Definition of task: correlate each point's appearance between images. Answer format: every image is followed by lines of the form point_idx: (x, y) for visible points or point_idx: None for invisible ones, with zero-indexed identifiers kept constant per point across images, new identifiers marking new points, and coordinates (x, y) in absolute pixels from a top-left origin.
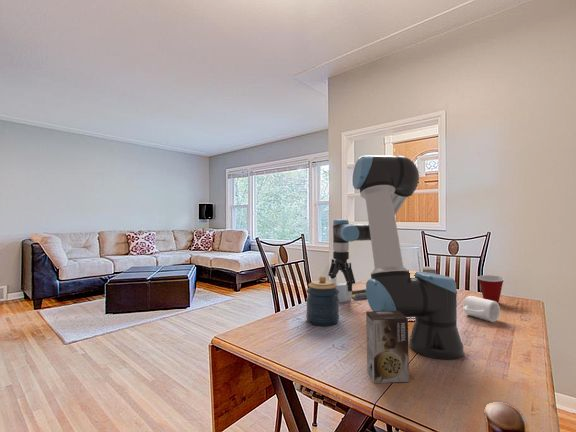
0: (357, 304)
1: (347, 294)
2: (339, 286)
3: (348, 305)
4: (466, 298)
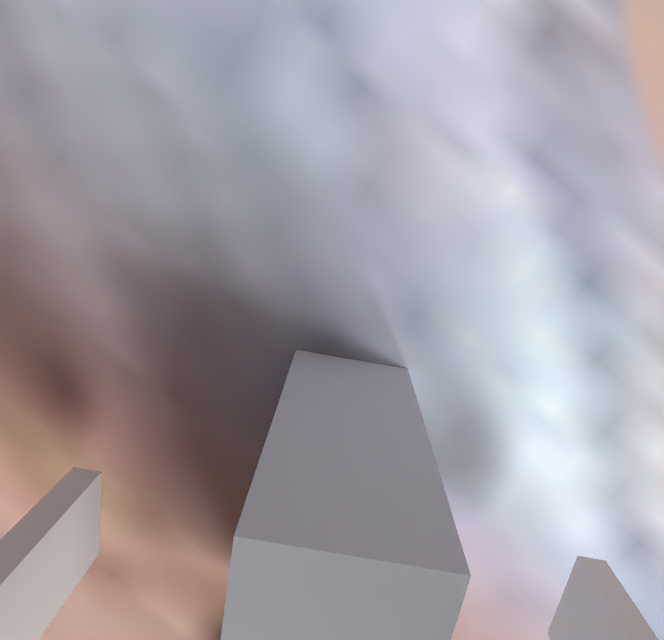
0: None
1: (26, 522)
2: (223, 635)
3: (93, 410)
4: None
